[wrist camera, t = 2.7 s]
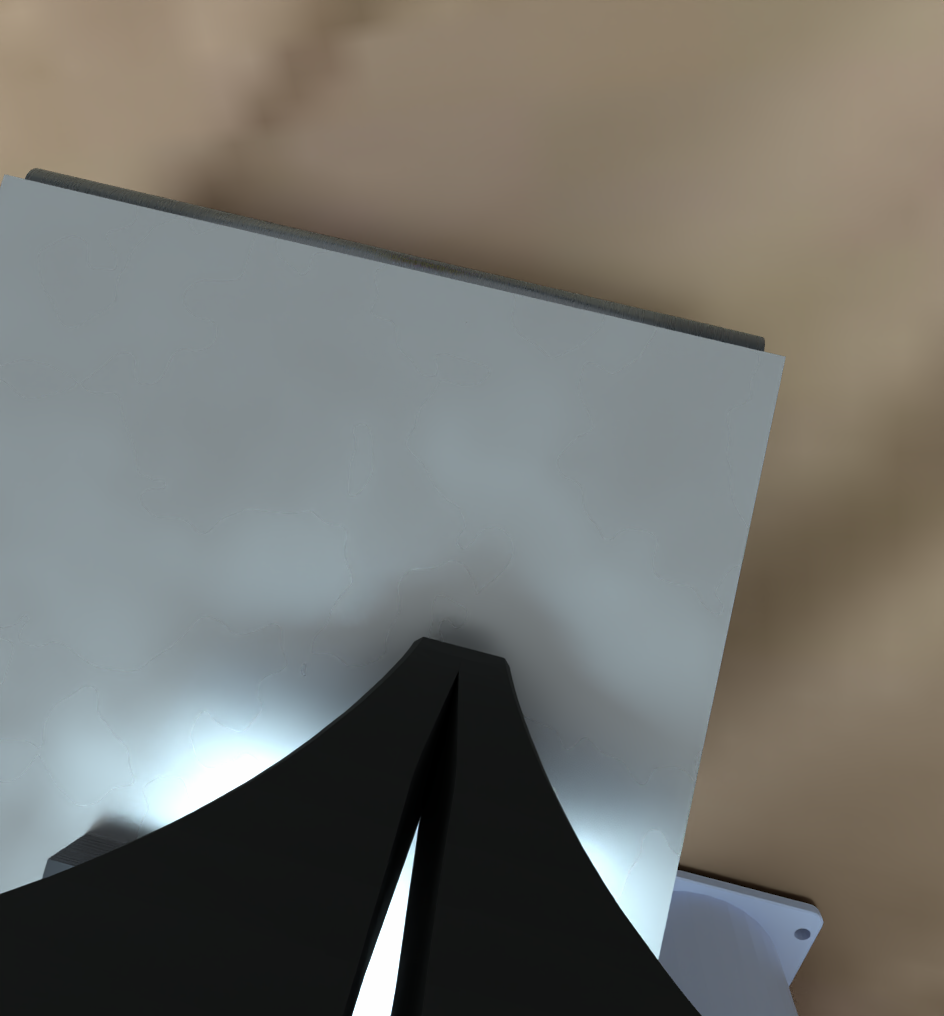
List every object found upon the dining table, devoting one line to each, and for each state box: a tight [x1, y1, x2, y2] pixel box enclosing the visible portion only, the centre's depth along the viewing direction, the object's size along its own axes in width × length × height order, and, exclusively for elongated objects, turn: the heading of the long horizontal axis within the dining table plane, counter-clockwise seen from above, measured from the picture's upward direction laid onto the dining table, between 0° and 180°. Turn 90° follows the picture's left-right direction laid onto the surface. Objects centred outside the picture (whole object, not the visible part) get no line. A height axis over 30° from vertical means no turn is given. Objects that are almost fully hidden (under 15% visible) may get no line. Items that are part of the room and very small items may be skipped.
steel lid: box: [0, 168, 785, 1016], centre depth 12 cm, size 14×15×2 cm
